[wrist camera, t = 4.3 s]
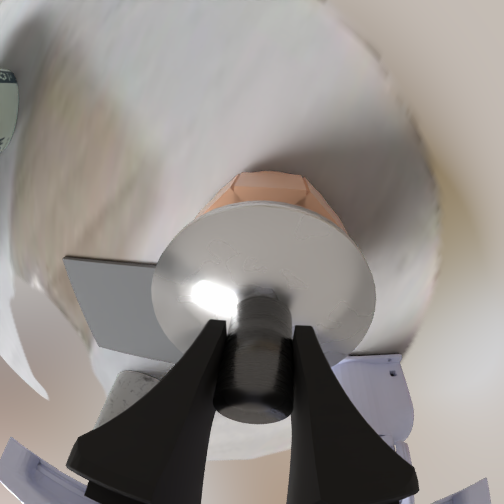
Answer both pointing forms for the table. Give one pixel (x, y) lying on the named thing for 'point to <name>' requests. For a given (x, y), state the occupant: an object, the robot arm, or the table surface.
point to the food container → (7, 106)
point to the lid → (263, 297)
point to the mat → (120, 307)
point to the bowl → (273, 193)
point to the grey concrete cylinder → (125, 394)
